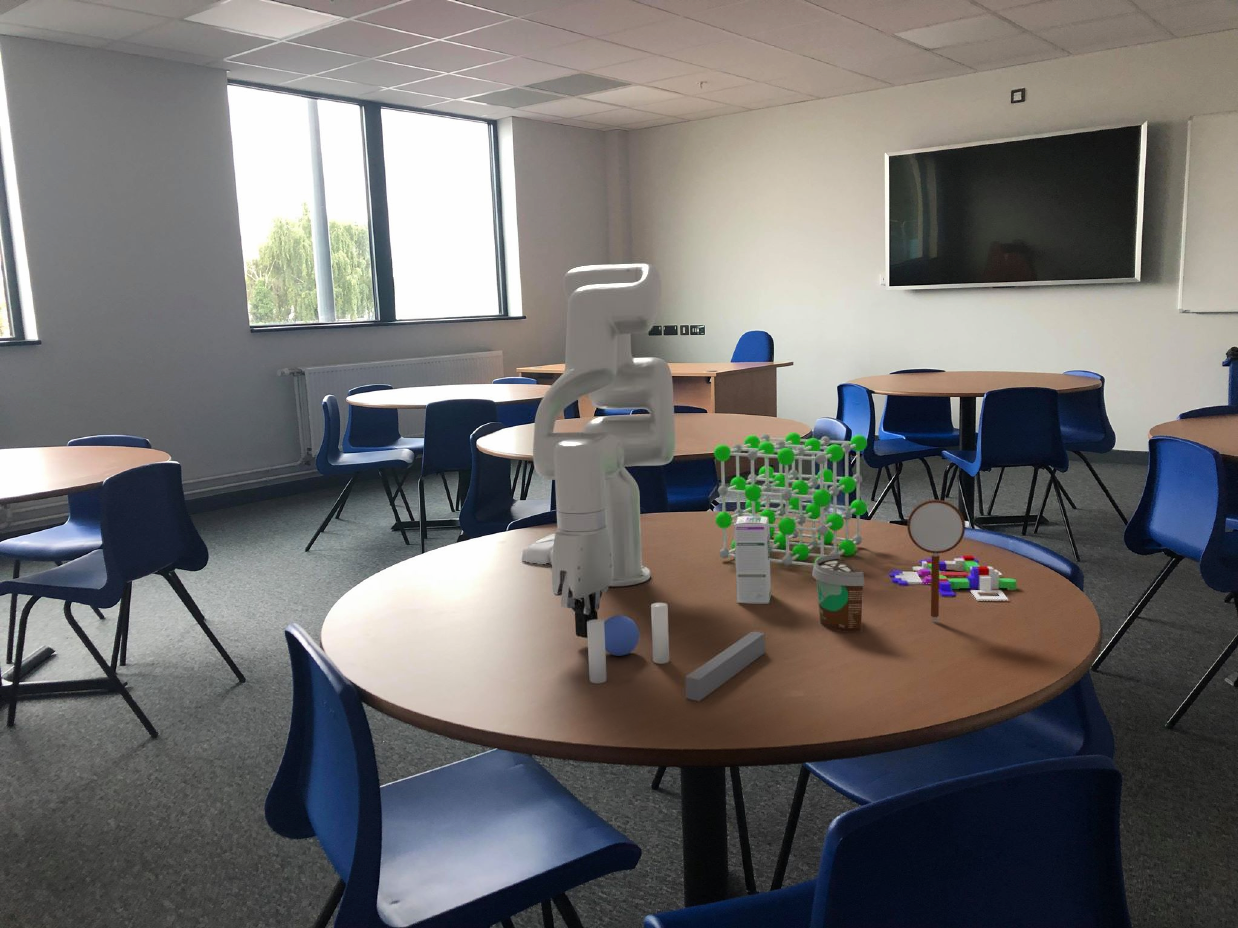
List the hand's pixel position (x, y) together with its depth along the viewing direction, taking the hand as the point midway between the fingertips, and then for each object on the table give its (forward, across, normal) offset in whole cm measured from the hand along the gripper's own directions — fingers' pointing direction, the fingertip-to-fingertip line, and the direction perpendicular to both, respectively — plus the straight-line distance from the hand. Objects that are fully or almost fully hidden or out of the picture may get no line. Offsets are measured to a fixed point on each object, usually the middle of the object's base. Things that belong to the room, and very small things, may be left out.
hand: (587, 635), depth 145 cm
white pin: (+2, 0, +13) cm, 13 cm away
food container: (+2, -27, +29) cm, 40 cm away
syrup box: (+2, -33, +12) cm, 35 cm away
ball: (-1, +1, +6) cm, 7 cm away
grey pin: (+2, +10, +9) cm, 14 cm away
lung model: (+2, -46, -36) cm, 58 cm away
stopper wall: (+2, 0, +24) cm, 24 cm away
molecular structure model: (+2, -64, +6) cm, 64 cm away
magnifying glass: (+2, -36, +43) cm, 56 cm away
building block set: (+2, -60, +39) cm, 71 cm away
